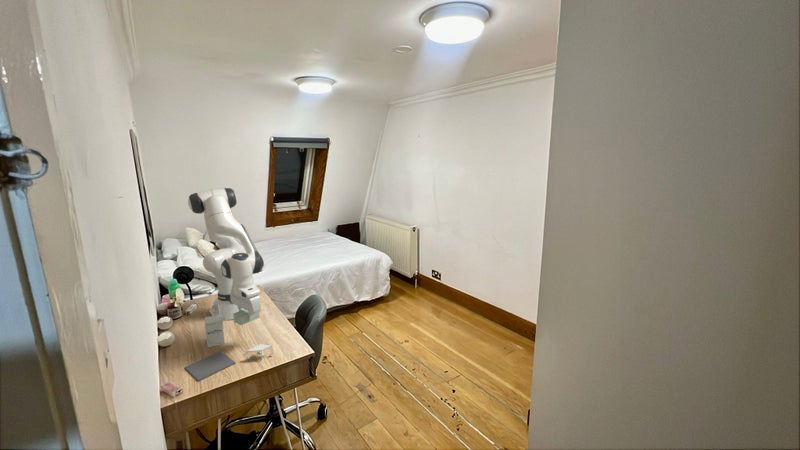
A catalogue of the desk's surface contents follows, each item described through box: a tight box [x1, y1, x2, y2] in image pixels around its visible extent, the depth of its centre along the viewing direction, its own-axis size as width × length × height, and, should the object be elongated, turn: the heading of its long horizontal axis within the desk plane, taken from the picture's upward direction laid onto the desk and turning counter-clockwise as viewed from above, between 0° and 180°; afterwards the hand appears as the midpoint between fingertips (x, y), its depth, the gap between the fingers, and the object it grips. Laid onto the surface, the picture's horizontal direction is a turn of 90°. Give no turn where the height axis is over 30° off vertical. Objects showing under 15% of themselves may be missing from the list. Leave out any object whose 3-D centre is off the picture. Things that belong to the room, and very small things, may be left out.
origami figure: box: [242, 343, 275, 361], centre depth 151 cm, size 12×8×5 cm
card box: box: [233, 309, 260, 326], centre depth 158 cm, size 6×9×4 cm, turn 144°
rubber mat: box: [184, 350, 237, 382], centre depth 145 cm, size 14×15×1 cm
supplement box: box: [204, 314, 226, 349], centre depth 162 cm, size 7×7×13 cm
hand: (246, 316), depth 158 cm, fingers closed on card box, 6 cm apart
